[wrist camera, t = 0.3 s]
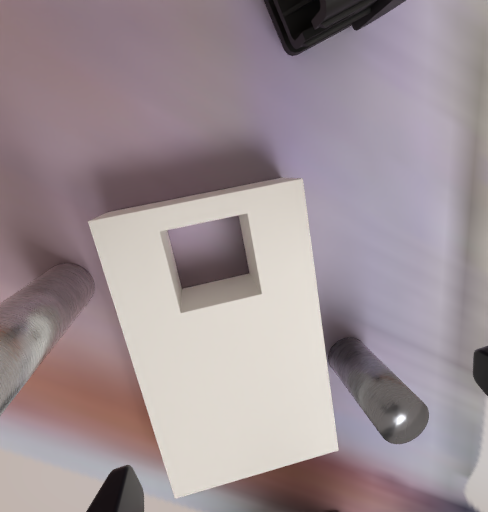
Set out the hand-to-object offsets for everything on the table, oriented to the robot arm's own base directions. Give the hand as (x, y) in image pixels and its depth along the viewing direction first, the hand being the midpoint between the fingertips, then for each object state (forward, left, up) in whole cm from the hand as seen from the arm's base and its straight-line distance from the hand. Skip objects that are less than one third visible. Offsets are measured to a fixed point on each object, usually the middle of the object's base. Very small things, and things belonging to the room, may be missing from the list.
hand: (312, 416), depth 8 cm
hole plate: (-4, +1, -14) cm, 15 cm away
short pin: (-9, -7, -15) cm, 18 cm away
